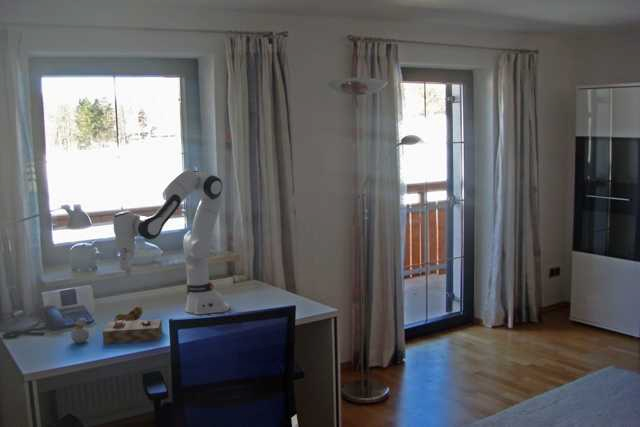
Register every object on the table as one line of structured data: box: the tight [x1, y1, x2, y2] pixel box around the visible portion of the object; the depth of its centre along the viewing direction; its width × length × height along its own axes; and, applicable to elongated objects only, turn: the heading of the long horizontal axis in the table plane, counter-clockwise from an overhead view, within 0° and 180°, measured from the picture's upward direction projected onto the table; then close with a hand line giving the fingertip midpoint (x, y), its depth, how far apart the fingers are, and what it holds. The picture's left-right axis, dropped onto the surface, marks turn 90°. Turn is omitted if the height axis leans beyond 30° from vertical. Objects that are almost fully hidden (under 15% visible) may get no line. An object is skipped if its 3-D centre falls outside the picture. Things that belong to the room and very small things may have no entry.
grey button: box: [141, 321, 152, 326], centre depth 300 cm, size 4×4×6 cm
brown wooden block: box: [102, 318, 163, 346], centre depth 299 cm, size 24×14×6 cm, turn 98°
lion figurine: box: [114, 305, 143, 322], centre depth 317 cm, size 15×5×9 cm, turn 118°
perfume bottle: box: [70, 316, 90, 344], centre depth 294 cm, size 8×10×12 cm
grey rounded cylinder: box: [113, 320, 125, 328], centre depth 298 cm, size 4×4×6 cm
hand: (128, 275), depth 309 cm, fingers closed
